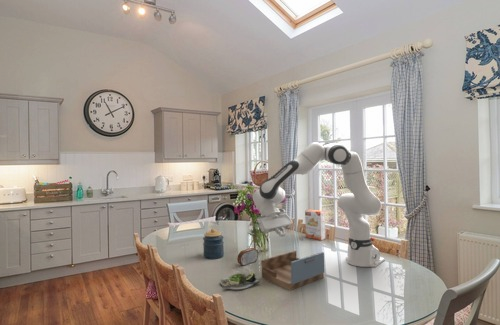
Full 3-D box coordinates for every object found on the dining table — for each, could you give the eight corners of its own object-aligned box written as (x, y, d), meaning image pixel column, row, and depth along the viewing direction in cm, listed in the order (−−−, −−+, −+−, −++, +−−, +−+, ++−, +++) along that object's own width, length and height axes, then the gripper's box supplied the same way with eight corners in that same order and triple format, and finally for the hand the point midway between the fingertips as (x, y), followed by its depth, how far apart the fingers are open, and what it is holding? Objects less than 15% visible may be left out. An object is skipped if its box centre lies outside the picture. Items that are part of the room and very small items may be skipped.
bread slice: (255, 259, 188) (255, 246, 188) (259, 261, 186) (259, 247, 186) (237, 266, 177) (236, 251, 177) (240, 267, 175) (240, 252, 175)
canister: (206, 260, 189) (205, 231, 189) (201, 255, 201) (200, 227, 201) (227, 257, 194) (226, 229, 194) (220, 252, 206) (219, 225, 206)
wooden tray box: (295, 266, 174) (294, 250, 174) (323, 277, 158) (323, 259, 158) (261, 277, 159) (261, 260, 159) (289, 290, 143) (288, 270, 143)
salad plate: (234, 296, 139) (234, 286, 139) (210, 285, 152) (210, 276, 152) (264, 284, 152) (264, 274, 152) (240, 275, 165) (240, 266, 165)
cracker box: (305, 237, 237) (304, 210, 236) (310, 236, 241) (309, 208, 240) (321, 240, 226) (320, 211, 226) (325, 239, 230) (325, 210, 230)
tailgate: (322, 271, 157) (322, 252, 157) (325, 272, 155) (325, 252, 155) (291, 283, 144) (290, 261, 144) (294, 284, 142) (293, 262, 142)
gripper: (257, 213, 163) (270, 235, 155) (286, 208, 175) (299, 229, 167) (253, 221, 166) (265, 242, 159) (281, 215, 179) (294, 235, 171)
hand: (283, 235), depth 163 cm, fingers closed
